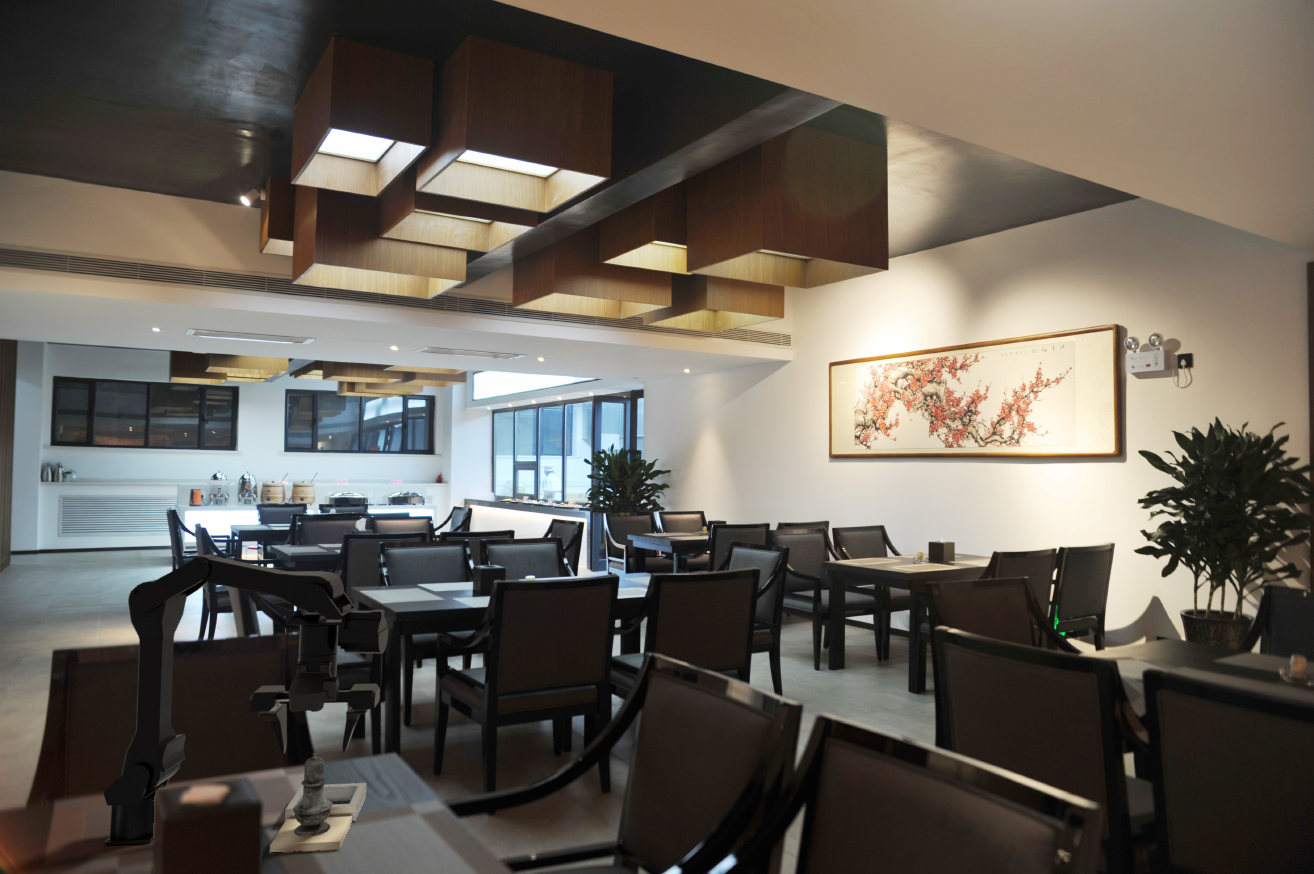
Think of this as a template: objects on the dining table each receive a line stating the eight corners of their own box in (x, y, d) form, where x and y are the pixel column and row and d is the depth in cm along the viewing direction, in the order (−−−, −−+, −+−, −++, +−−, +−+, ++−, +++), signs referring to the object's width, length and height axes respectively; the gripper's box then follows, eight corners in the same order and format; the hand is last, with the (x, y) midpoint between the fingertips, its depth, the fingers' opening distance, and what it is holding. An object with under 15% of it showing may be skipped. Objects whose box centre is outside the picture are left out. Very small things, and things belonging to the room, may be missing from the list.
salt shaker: (317, 838, 130) (320, 759, 130) (283, 835, 131) (286, 755, 132) (340, 823, 136) (342, 747, 136) (307, 820, 137) (309, 744, 137)
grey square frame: (284, 824, 138) (285, 809, 138) (300, 799, 148) (301, 785, 149) (355, 821, 140) (355, 805, 140) (366, 797, 150) (366, 782, 150)
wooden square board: (269, 852, 127) (270, 844, 128) (286, 826, 137) (287, 818, 137) (339, 849, 129) (339, 841, 129) (351, 822, 139) (351, 815, 139)
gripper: (239, 664, 126) (234, 771, 125) (370, 662, 129) (366, 767, 128) (261, 649, 137) (257, 748, 136) (382, 648, 140) (378, 744, 139)
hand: (314, 752), depth 135 cm, fingers open, 9 cm apart
